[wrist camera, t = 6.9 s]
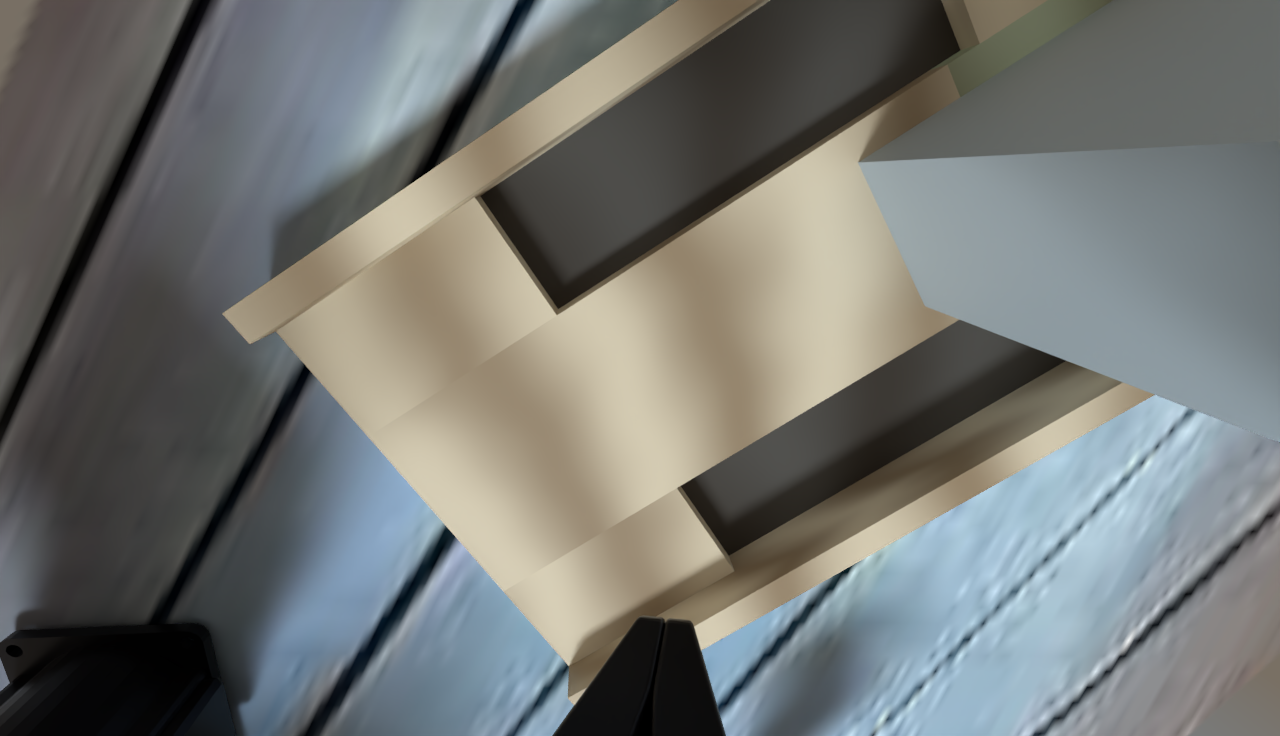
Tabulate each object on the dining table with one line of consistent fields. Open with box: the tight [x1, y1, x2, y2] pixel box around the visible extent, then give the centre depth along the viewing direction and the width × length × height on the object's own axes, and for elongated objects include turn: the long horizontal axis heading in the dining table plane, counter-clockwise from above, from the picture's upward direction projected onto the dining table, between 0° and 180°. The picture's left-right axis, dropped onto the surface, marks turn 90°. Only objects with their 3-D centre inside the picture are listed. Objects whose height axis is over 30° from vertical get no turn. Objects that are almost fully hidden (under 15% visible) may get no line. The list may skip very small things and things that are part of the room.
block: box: [858, 0, 1280, 443], centre depth 12 cm, size 10×5×11 cm, turn 122°
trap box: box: [222, 0, 1154, 705], centre depth 18 cm, size 30×17×2 cm, turn 122°
